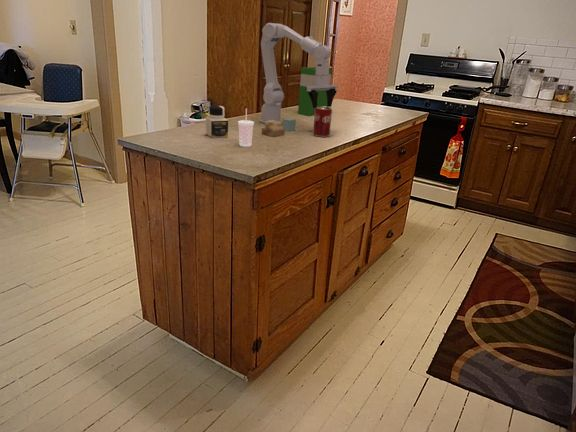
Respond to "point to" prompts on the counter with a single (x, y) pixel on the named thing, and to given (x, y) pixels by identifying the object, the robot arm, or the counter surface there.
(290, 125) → the teal block
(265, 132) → the walnut slab
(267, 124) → the maple cube
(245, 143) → the beverage cup
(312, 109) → the hardback book
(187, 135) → the counter surface
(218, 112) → the medicine bottle
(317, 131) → the soda can
